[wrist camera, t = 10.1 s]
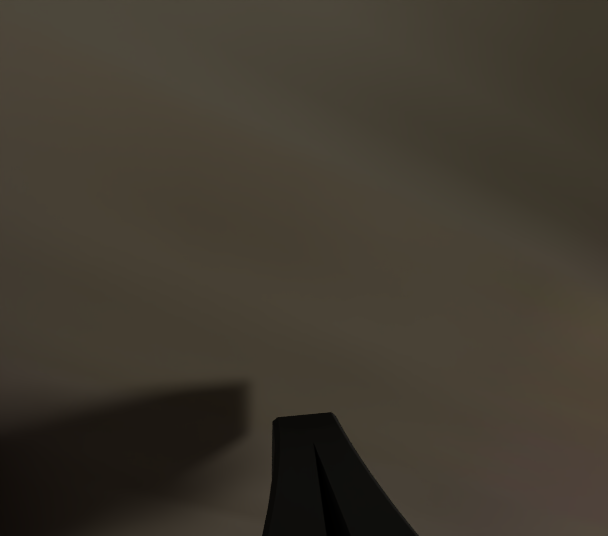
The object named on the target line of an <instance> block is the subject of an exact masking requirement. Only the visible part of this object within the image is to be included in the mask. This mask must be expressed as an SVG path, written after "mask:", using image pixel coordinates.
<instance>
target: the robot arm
mask: <svg viewBox="0 0 608 536" xmlns="http://www.w3.org/2000/svg"><path fill="white" fill-rule="evenodd" d="M262 536H419V535H418V534H417V533H416V532H415V531H414V529H413V528H412V527H411V526H410V524H409V523H408V522H407V521H406V519H405V518H404V517H403V516H402V514H401V513H400V512H399V511H398V509H397V508H396V507H395V505H394V504H393V503H392V502H391V500H390V499H389V498H388V496H387V495H386V493H385V492H384V491H383V489H382V488H381V486H380V485H379V484H378V482H377V481H376V480H375V478H374V477H373V475H372V474H371V473H370V471H369V470H368V468H367V467H366V465H365V464H364V462H363V461H362V459H361V458H360V456H359V455H358V453H357V451H356V450H355V448H354V447H353V445H352V443H351V442H350V440H349V439H348V437H347V435H346V434H345V432H344V430H343V428H342V427H341V425H340V423H339V421H338V419H337V417H336V416H335V415H334V414H333V413H332V412H329V413H318V414H308V415H297V416H287V417H278V418H276V419H275V420H274V421H273V429H272V484H271V491H270V498H269V504H268V510H267V515H266V520H265V525H264V529H263V534H262Z"/></svg>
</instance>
